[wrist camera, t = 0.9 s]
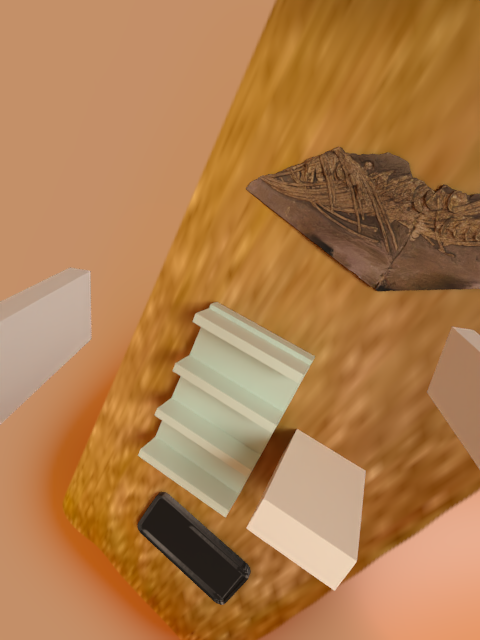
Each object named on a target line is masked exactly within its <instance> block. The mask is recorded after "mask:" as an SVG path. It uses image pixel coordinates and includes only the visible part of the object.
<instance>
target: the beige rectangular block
mask: <svg viewBox="0 0 480 640" xmlns="http://www.w3.org/2000/svg"><path fill="white" fill-rule="evenodd" d="M365 473H366V471H365V470H363V469H362V468H360V467H358V466H357V465H355V464H353V463H352V462H350V461H348V460H347V459H345V458H344V457H342V456H340V455H339V454H337V453H335V452H334V451H332V450H331V449H329V448H327V447H326V446H324V445H322V444H321V443H319V442H317V441H316V440H314V439H313V438H311V437H309V436H308V435H306V434H304V433H303V432H301V431H300V430H298V429H297V430H296V432H295V433H294V435H293V437H292V438H291V440H290V442H289V444H288V445H287V447H286V449H285V451H284V452H283V454H282V456H281V458H280V460H279V462H278V464H277V466H276V468H275V471H274V473H273V475H272V477H271V479H270V481H269V483H268V485H267V487H266V489H265V491H264V493H263V495H262V497H261V499H260V501H259V503H258V505H257V507H256V509H255V511H254V513H253V515H252V517H251V519H250V521H249V523H248V526H247V528H246V529H248V530H249V531H251V532H252V533H253V534H255V535H256V536H258V537H259V538H261V539H262V540H263V541H265V542H266V543H268V544H269V545H271V546H272V547H273V548H275V549H276V550H278V551H279V552H280V553H282V554H283V555H285V556H286V557H288V558H289V559H290V560H292V561H293V562H295V563H296V564H297V565H299V566H300V567H302V568H303V569H305V570H306V571H307V572H309V573H310V574H312V575H313V576H314V577H316V578H317V579H319V580H320V581H322V582H323V583H324V584H326V585H327V586H329V587H330V588H332V589H333V590H334V591H335V589H336V588H337V587H338V586H339V584H340V583H341V582H342V580H343V579H344V578H345V576H346V575H347V574H348V572H349V571H350V570H351V568H352V567H353V566H354V565H355V563H356V562H357V556H358V545H359V535H360V525H361V514H362V504H363V494H364V483H365Z"/></svg>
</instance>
